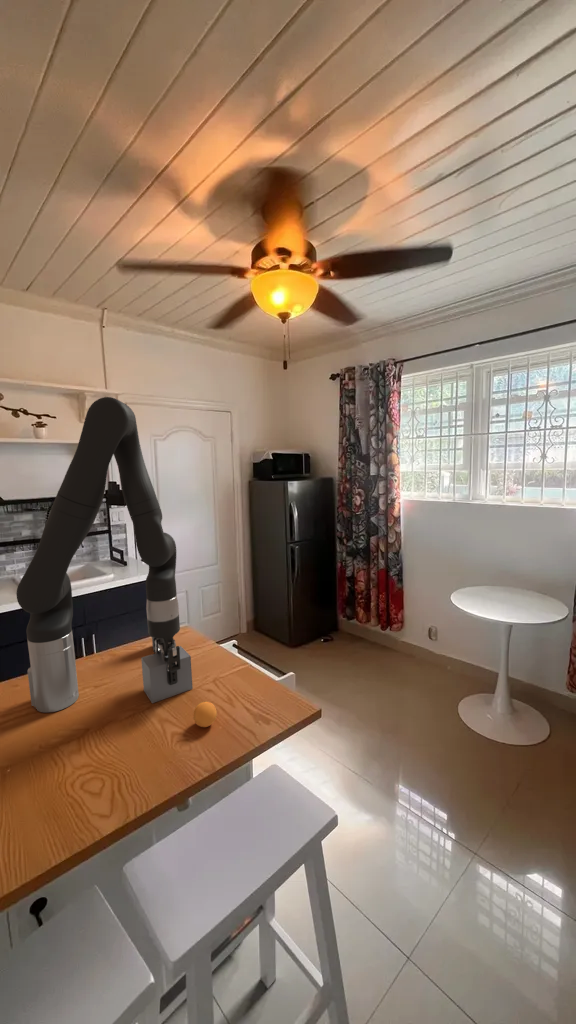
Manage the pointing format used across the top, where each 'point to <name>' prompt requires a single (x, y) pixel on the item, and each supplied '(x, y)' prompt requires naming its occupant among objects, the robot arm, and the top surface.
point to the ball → (204, 714)
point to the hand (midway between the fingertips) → (167, 676)
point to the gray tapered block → (165, 676)
